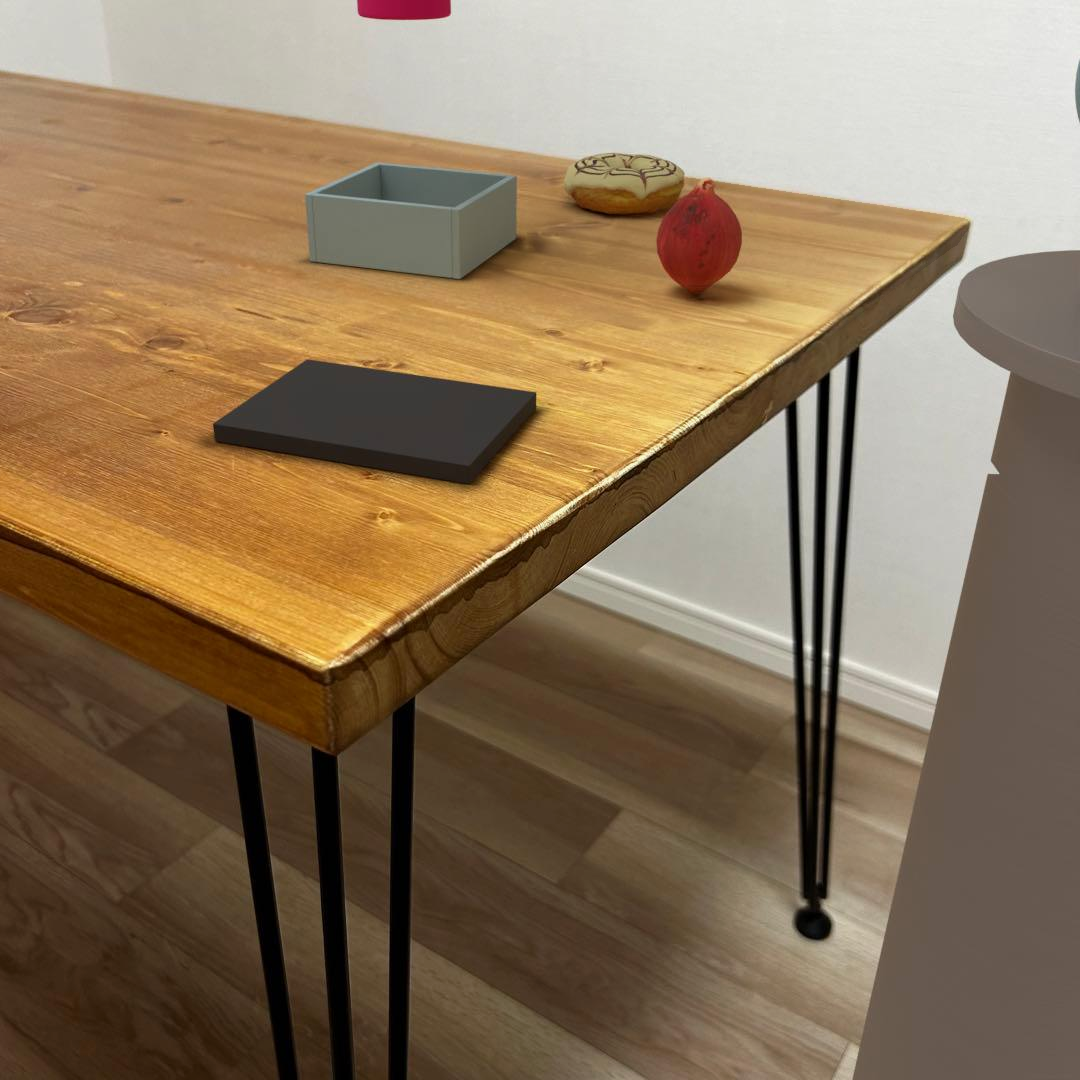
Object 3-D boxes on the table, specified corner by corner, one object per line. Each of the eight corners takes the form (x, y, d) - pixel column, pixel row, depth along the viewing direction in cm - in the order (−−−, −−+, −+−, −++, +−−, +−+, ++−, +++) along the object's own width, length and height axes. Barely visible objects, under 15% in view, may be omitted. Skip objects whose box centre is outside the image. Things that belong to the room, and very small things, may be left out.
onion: (709, 312, 81) (719, 192, 77) (637, 295, 84) (644, 179, 80) (750, 292, 85) (762, 177, 81) (680, 277, 88) (689, 165, 84)
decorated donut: (545, 209, 105) (545, 165, 103) (593, 185, 114) (594, 144, 112) (655, 223, 101) (658, 178, 100) (696, 198, 110) (700, 155, 108)
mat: (536, 409, 66) (536, 391, 65) (469, 484, 57) (469, 465, 57) (308, 375, 69) (307, 358, 69) (214, 441, 61) (212, 423, 60)
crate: (516, 238, 97) (517, 175, 94) (460, 279, 86) (459, 209, 84) (379, 223, 100) (376, 162, 97) (309, 261, 90) (304, 193, 87)
